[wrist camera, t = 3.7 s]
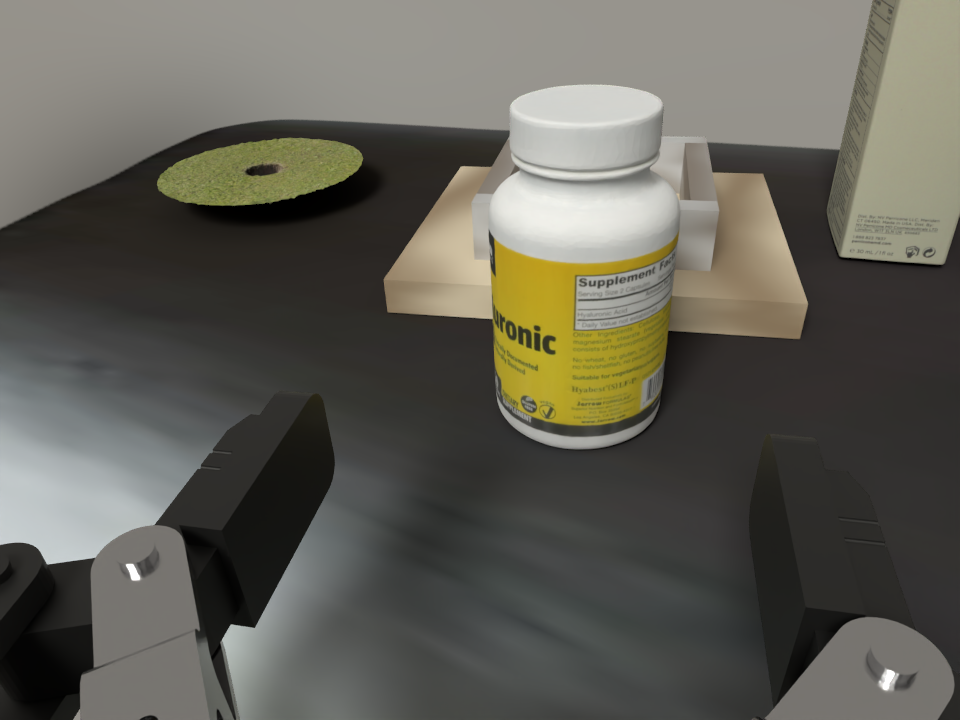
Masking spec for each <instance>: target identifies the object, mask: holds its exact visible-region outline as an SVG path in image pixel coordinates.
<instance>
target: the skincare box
mask: <svg viewBox="0 0 960 720" xmlns="http://www.w3.org/2000/svg"><path fill="white" fill-rule="evenodd" d="M959 216H960V0H873V1H872V6H871V11H870V15H869V20H868V24H867V29H866V33H865V38H864V43H863V47H862V52H861V56H860V61H859V66H858V70H857V75H856V79H855V84H854V88H853V93H852V97H851V102H850V107H849V111H848V116H847V120H846V125H845V130H844V134H843V138H842V143H841V148H840V152H839V157H838V161H837V166H836V170H835V175H834V179H833V184H832V189H831V193H830V198H829V202H828V206H827V217H828V222H829V226H830V230H831V233H832V237H833V240H834V243H835V246H836V248H837V251H838V254H839V256H840V257H844V258H859V259H871V260H882V261H893V262H907V263H921V264H930V265H943V264H944V263H945V261H946V258H947V254H948V251H949V248H950V245H951V242H952V239H953V235H954V232H955V229H956V226H957V223H958V219H959Z"/></svg>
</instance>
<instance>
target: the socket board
mask: <svg viewBox="0 0 960 720" xmlns="http://www.w3.org/2000/svg"><path fill="white" fill-rule="evenodd" d="M659 150H660V156H659V159H658V160H657V162H656V163H655V164H653V165H652V166H651V167H650V170H651V171H653V172H655V173H657V174H658V175H660V176H661V177H663V178H664V179H665V180H666V181H667V182H668V183H669V184H670V185H671V186H672V188H673V189H674V191H675V192H676V194H677V197H678V199H679V203H680V213H681V214H680V229H679V236H678V244H677V253H676V263H675V271H674V281H673V291H672V299H671V309H670V318H669V329H668V331H682V332H697V333H712V334H728V335H743V336H758V337H774V338H789V339H800V336H801V332H802V328H803V323H804V319H805V315H806V310H807V306H808V302H807V299H806V296H805V293H804V291H803V288H802V285H801V282H800V279H799V276H798V273H797V270H796V268H795V265H794V262H793V259H792V256H791V253H790V250H789V247H788V245H787V242H786V239H785V236H784V233H783V230H782V227H781V225H780V222H779V219H778V216H777V213H776V210H775V207H774V204H773V202H772V199H771V196H770V193H769V190H768V187H767V184H766V181H765V179H764V176H763V174H745V173H712V168H711V162H710V157H709V151H708V146H707V140H706V137H674V136H662V137H661V146H660V149H659ZM511 153H512V152H511V150H510V137H509V138H508V140H507V142H506V144H505V145H504V147H503V149H502V150H501V152H500V154H499V156H498V157H497V159H496V161H495V163H494V164H493V166H492V167H461V168H460V169H459V170H458V172H457V173H456V175H455V176H454V178H453V179H452V181H451V182H450V184H449V185H448V187H447V188H446V189H445V191H444V192H443V194H442V195H441V197H440V198H439V200H438V201H437V203H436V204H435V205H434V207H433V208H432V210H431V211H430V213H429V214H428V216H427V217H426V219H425V220H424V222H423V223H422V224H421V226H420V227H419V229H418V230H417V232H416V233H415V235H414V236H413V238H412V239H411V241H410V242H409V243H408V245H407V246H406V248H405V249H404V251H403V252H402V254H401V255H400V257H399V258H398V259H397V261H396V262H395V264H394V265H393V267H392V268H391V270H390V271H389V273H388V274H387V276H386V277H385V278H384V286H385V294H386V302H387V310H388V312H391V313H406V314H422V315H437V316H452V317H467V318H483V319H493V310H492V289H491V269H490V249H489V230H488V229H489V205H490V202H491V199H492V196H493V194H494V193H495V191H496V190H497V188H498V187H499V186H500V184H501V183H503V182H504V181H505V180H506V179H507V178H508V177H510V176H511V175H513V174H514V173H516V172H518V171H520V168H519V167H518V166H516V165H515V163H514V162H513V161H512V158H511Z"/></svg>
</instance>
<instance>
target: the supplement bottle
mask: <svg viewBox="0 0 960 720" xmlns="http://www.w3.org/2000/svg"><path fill="white" fill-rule="evenodd" d="M663 111H664V107H663V103H662V101H661V100H660V99H659V98H658V97H656V96H655V95H653V94H651V93H649V92H645V91H642V90H637V89H633V88H627V87H620V86H613V85H570V86H559V87H552V88H546V89H542V90H538V91H534V92H531V93H528V94H525V95H522V96H520V97H518V98H517V99H515V101H513V103H512V104H511V106H510V150H511V152H512V153H511V158H512V161H513V162H514V163H515V165H516V166H518V167H519V168H520V171H518V172H516V173H514V174H513V175H511V176H510V177H508V178H507V179H506V180H505V181H504V182H503V183H501V184H500V186H499V187H498V188H497V190H496V191H495V193H494V194H493V196H492V199H491V202H490V205H489V229H488V230H489V249H490V269H491V289H492V310H493V339H494V357H495V371H494V373H495V382H496V394H497V401H498V404H499V408H500V410H501V412H502V414H503V415H504V417H505V418H506V419H507V421H508V422H509V423H510V424H511V425H512V426H513V427H514V428H515V429H517V430H518V431H519V432H521V433H522V434H524V435H526V436H527V437H529V438H531V439H533V440H535V441H538V442H540V443H543V444H546V445H549V446H553V447H558V448H564V449H577V450H578V449H595V448H603V447H608V446H612V445H615V444H618V443H621V442H624V441H626V440H629V439H631V438H633V437H635V436H636V435H638V434H639V433H641V432H642V431H643V430H644V429H645V428H646V427H647V426H648V425H649V424H650V423H651V422H652V421H653V419H654V417H655V415H656V413H657V411H658V408H659V404H660V398H661V390H662V382H663V375H664V367H665V357H666V347H667V337H668V329H669V318H670V309H671V299H672V291H673V281H674V271H675V263H676V253H677V244H678V236H679V229H680V214H681V213H680V203H679V199H678V197H677V194H676V192H675V191H674V189H673V188H672V186H671V185H670V184H669V183H668V182H667V181H666V180H665V179H664V178H663V177H661V176H660V175H658V174H657V173H655V172H653V171H651V170H650V167H651V166H652V165H653V164H655V163H656V162H657V160H658V159H659V156H660V150H659V149H660V146H661V137H662V123H663Z"/></svg>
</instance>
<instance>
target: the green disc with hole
mask: <svg viewBox="0 0 960 720" xmlns="http://www.w3.org/2000/svg"><path fill="white" fill-rule="evenodd" d="M362 161H363V157H362V155H361V153H360V152H359V150H357V149H356V148H354V147H351V146H349V145H347V144H343V143H338V142H337V141H336V142H335V141H327V140H320V139H317V140H315V139H314V140H313V139H305V138H297V139H294V138H284V139H282V138H280V140H278V139H273V140H268V141H265V140H263V141H260V142H248V143H246V144H245V143H241V144H239V145H236V146H235V145H232V146H228V147H226V148H217V149H215V150H212V151H205V152H204V153H201V154H199V155H194V156H193V157H191V158H187V159H184V160H182V161H180V162H177V163H176V164H175V165H174V166H173V167H170V168H168V170H166V171H165V172H164V173H162V174H161V175H160V178H159V179H158V182H157V186H158V189H159V190H160V191H162V192H163V193H164V194H165V195H167V196H169V197H171V198H175V199H178V200H179V201H184V202H185V203H188V202H190V203H196V204H198V205H200V204H204V205H221V206H224V205H232V206H235V205H251V204H263V203H266V202H268V203H270V204H271V203H272V202H274V201H279V200H282V199H289V198H295V197H296V196H297V195H301V194H306V193H311V191H316V190H317V189H324V188H325V187H328V186H330V185H334V184H336V183H338V182H340V181H344V179H346V178H348V177H349V175H353V173H354V172H356V171H357V170H358V169H359V167H360V165H361V164H362Z"/></svg>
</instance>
